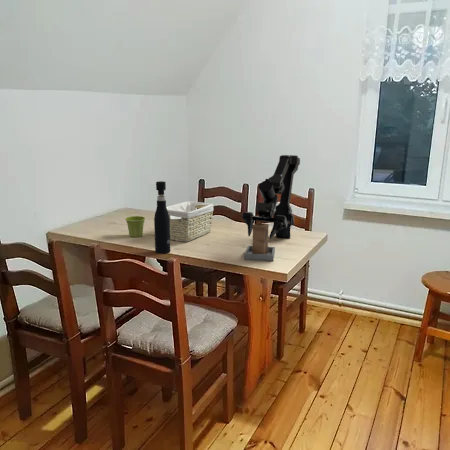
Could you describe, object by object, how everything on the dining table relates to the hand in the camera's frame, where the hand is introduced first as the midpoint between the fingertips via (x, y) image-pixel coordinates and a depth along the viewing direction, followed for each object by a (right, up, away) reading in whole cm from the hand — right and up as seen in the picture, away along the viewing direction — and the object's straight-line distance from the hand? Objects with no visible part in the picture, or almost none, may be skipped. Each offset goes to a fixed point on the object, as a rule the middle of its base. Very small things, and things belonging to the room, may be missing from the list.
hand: (259, 237), depth 185 cm
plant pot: (-57, -1, +33) cm, 66 cm away
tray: (0, -8, +3) cm, 9 cm away
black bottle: (-41, -7, +9) cm, 42 cm away
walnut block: (0, -8, +3) cm, 8 cm away
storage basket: (-32, 0, +34) cm, 47 cm away
